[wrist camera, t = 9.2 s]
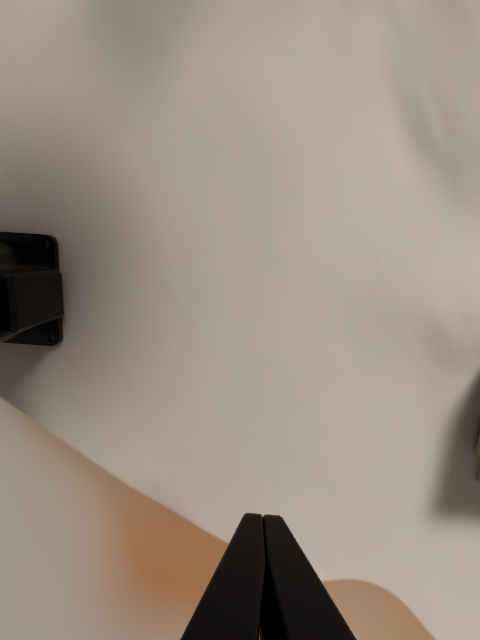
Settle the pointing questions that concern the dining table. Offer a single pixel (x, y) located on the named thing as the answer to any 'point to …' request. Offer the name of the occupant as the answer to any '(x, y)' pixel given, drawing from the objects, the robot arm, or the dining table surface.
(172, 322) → the dining table surface
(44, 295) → the robot arm
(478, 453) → the walnut block
